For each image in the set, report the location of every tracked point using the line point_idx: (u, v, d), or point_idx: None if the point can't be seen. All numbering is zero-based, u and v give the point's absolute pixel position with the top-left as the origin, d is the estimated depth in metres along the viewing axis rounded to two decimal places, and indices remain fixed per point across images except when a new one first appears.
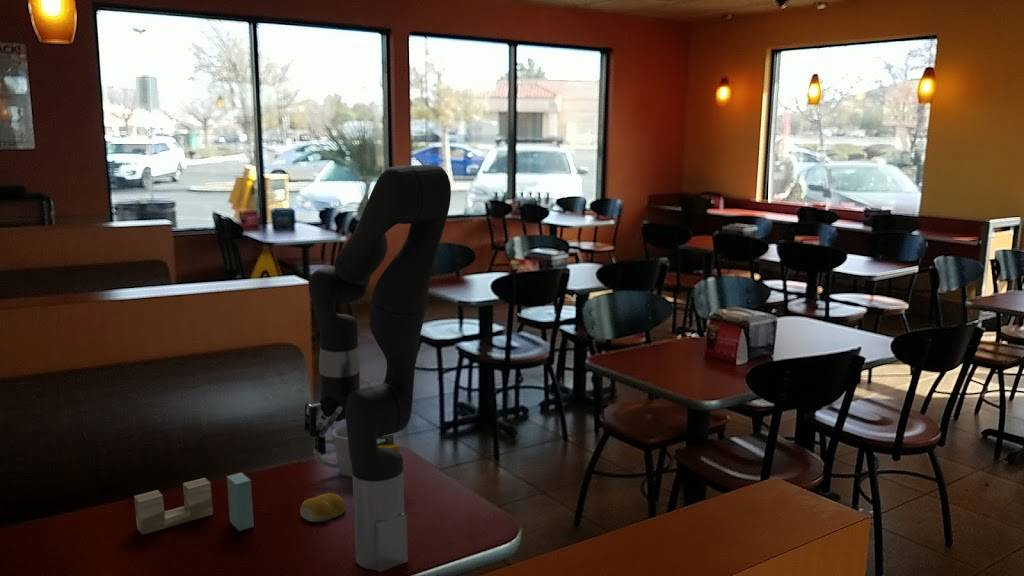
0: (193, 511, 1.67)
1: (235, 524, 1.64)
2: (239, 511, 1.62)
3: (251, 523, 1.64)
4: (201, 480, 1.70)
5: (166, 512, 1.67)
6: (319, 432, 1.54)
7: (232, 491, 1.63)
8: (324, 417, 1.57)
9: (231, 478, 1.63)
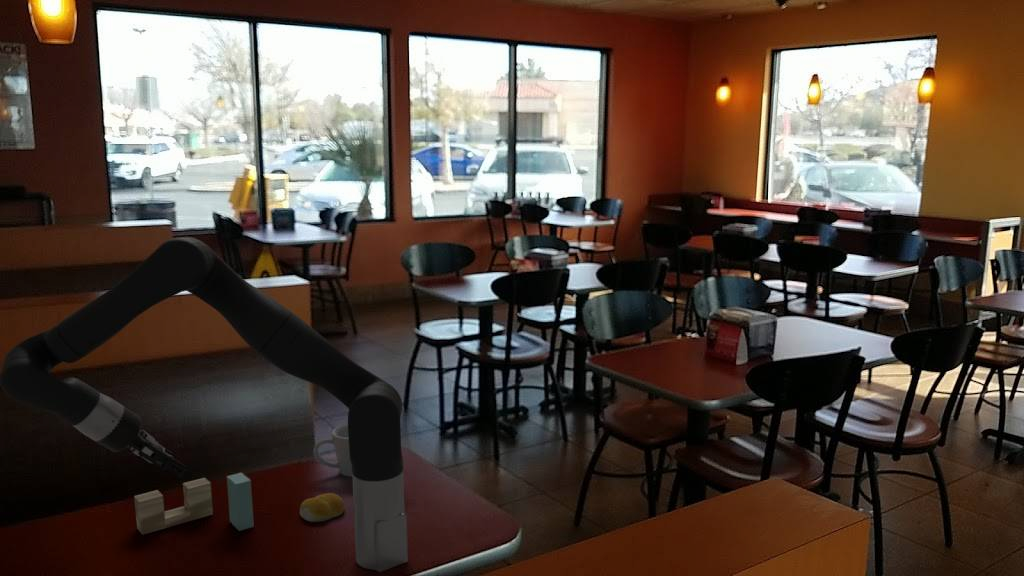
0: (193, 511, 1.67)
1: (235, 524, 1.64)
2: (239, 511, 1.62)
3: (251, 523, 1.64)
4: (201, 480, 1.70)
5: (166, 512, 1.67)
6: None
7: (232, 491, 1.63)
8: None
9: (231, 478, 1.63)
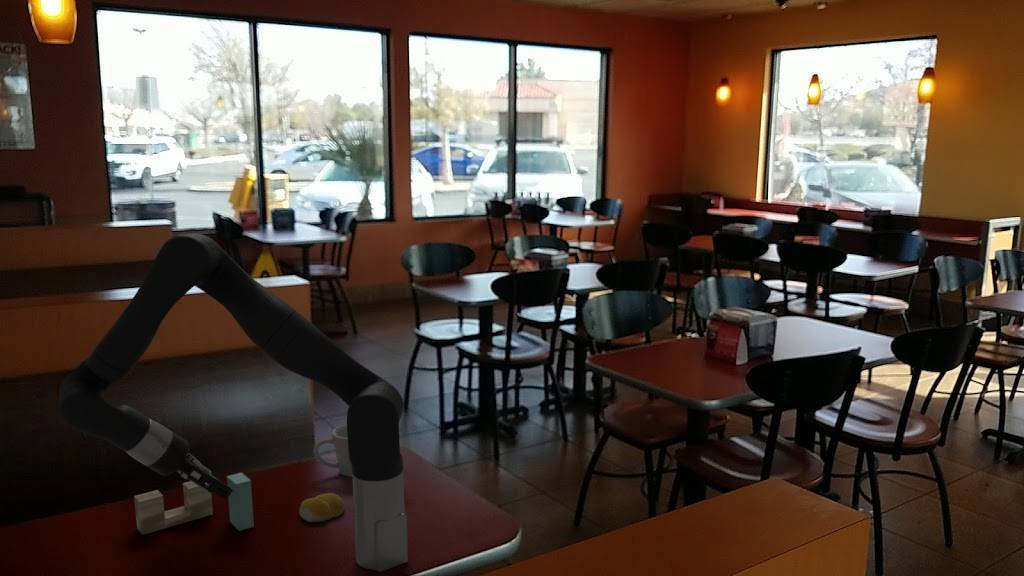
0: (193, 511, 1.67)
1: (235, 524, 1.64)
2: (239, 511, 1.62)
3: (251, 523, 1.64)
4: None
5: (166, 512, 1.67)
6: None
7: (232, 491, 1.63)
8: None
9: (231, 478, 1.63)
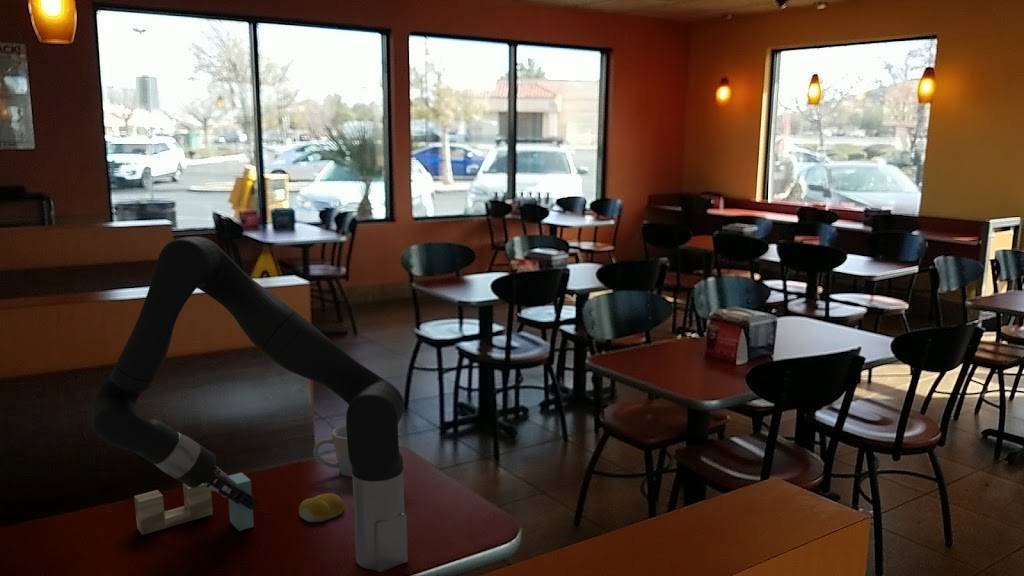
0: (193, 511, 1.67)
1: (235, 524, 1.64)
2: (239, 511, 1.62)
3: (251, 523, 1.64)
4: None
5: (166, 512, 1.67)
6: None
7: None
8: None
9: (231, 478, 1.63)
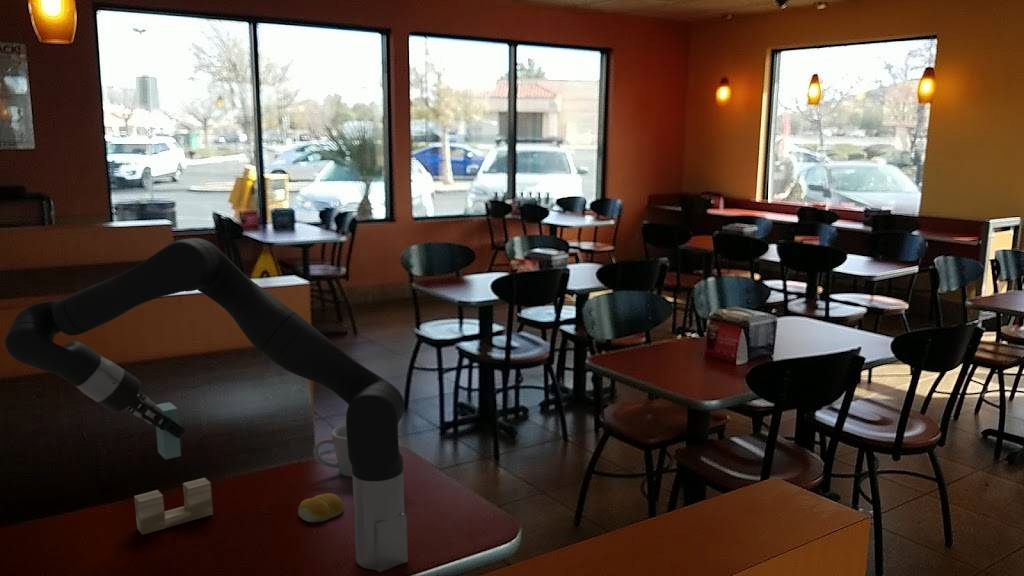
0: (193, 511, 1.67)
1: (162, 453, 1.63)
2: (165, 439, 1.61)
3: (178, 452, 1.63)
4: (201, 480, 1.70)
5: (166, 512, 1.67)
6: None
7: None
8: None
9: None
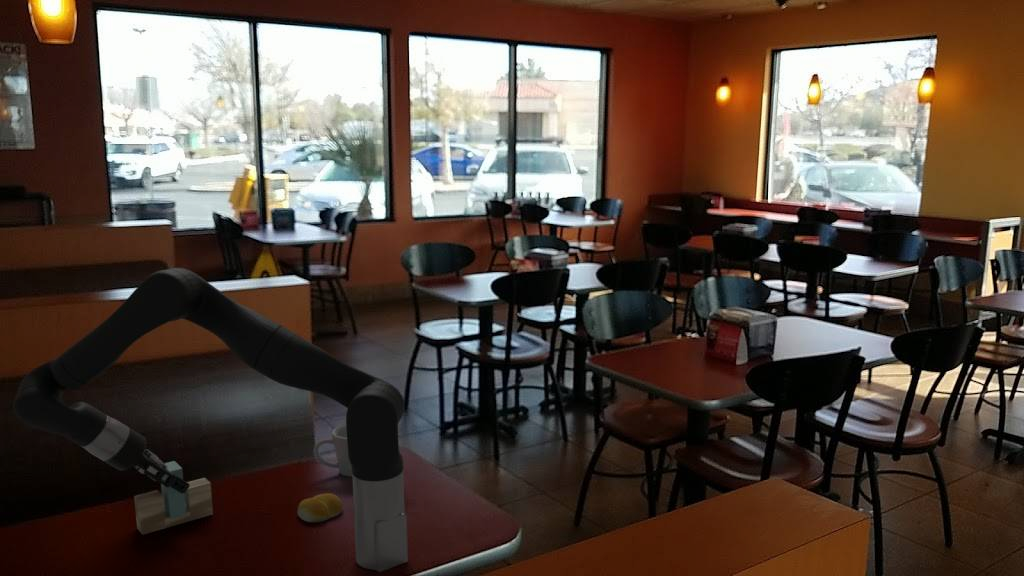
0: (193, 511, 1.67)
1: (167, 512, 1.65)
2: (170, 499, 1.63)
3: (183, 511, 1.65)
4: (201, 480, 1.70)
5: None
6: None
7: (163, 479, 1.64)
8: None
9: None
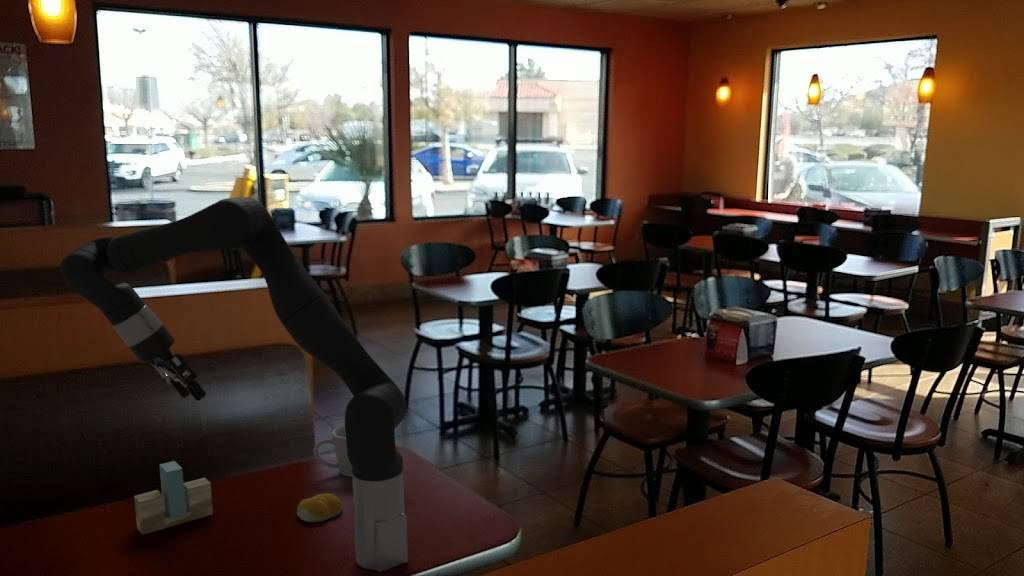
0: (193, 511, 1.67)
1: (167, 512, 1.65)
2: (170, 499, 1.63)
3: (183, 511, 1.65)
4: (201, 480, 1.70)
5: None
6: None
7: (163, 479, 1.64)
8: None
9: (163, 467, 1.64)
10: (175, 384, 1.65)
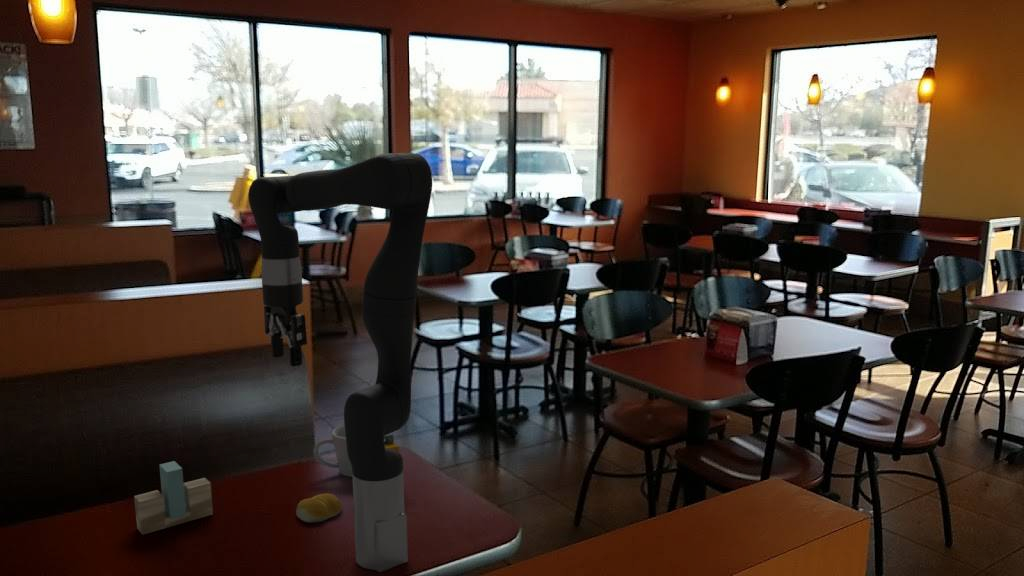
0: (193, 511, 1.67)
1: (167, 512, 1.65)
2: (170, 499, 1.63)
3: (183, 511, 1.65)
4: (201, 480, 1.70)
5: None
6: None
7: (163, 479, 1.64)
8: None
9: (163, 467, 1.64)
10: (274, 341, 1.62)
